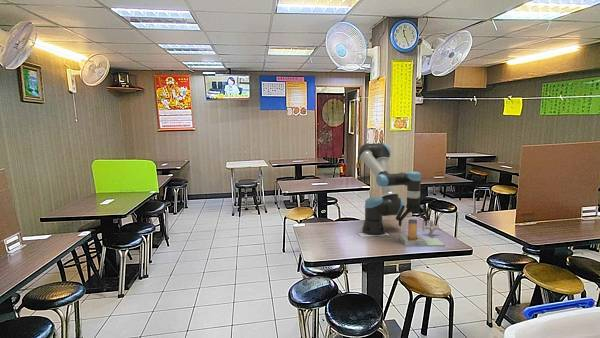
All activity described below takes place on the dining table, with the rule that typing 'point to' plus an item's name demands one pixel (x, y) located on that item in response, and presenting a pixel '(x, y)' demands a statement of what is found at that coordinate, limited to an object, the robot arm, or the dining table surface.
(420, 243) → the housing
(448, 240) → the dining table surface
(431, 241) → the mat
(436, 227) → the pipe connector
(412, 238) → the orange tall cylinder
